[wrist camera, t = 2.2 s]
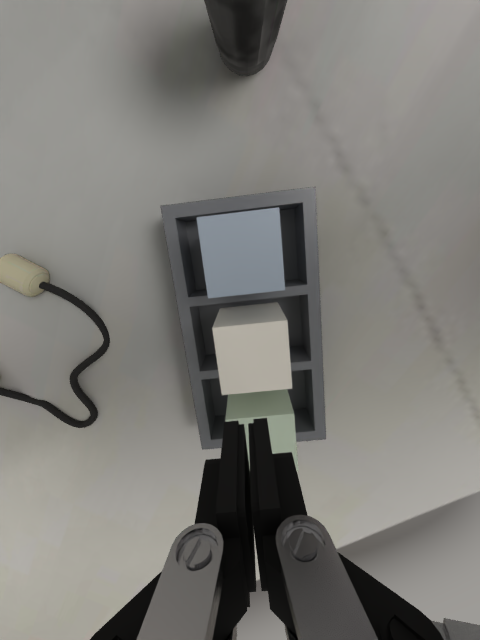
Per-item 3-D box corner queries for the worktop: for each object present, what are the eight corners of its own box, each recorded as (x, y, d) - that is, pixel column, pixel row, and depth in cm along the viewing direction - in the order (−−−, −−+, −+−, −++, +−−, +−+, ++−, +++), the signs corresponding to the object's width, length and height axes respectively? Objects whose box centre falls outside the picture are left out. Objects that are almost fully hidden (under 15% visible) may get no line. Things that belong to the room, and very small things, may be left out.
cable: (152, 325, 31) (140, 335, 28) (87, 435, 35) (70, 455, 31) (15, 243, 29) (-15, 243, 26) (-38, 369, 33) (-70, 383, 29)
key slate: (270, 216, 23) (279, 207, 17) (275, 278, 24) (285, 290, 18) (208, 223, 23) (196, 217, 17) (216, 285, 25) (207, 298, 19)
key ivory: (277, 302, 25) (287, 320, 19) (282, 356, 26) (292, 388, 20) (219, 308, 25) (212, 327, 19) (227, 361, 26) (221, 395, 21)
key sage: (283, 376, 27) (294, 413, 21) (287, 423, 28) (298, 471, 22) (229, 381, 27) (225, 419, 21) (235, 428, 28) (233, 476, 22)
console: (302, 196, 27) (315, 186, 22) (314, 410, 32) (326, 439, 28) (175, 212, 27) (160, 205, 22) (208, 419, 33) (202, 449, 28)
